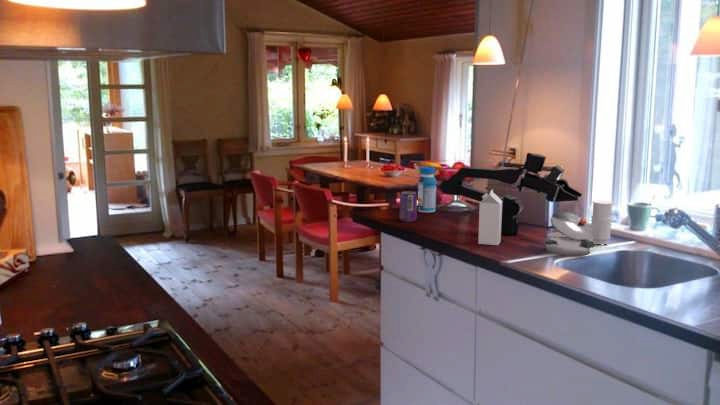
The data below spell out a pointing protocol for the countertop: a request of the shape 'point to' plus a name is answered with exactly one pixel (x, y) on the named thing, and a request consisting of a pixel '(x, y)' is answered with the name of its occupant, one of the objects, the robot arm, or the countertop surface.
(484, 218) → the milk carton
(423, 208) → the beverage bottle
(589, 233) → the cooker lid
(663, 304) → the countertop surface
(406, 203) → the beverage can
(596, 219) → the white cylinder
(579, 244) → the cooker pot
